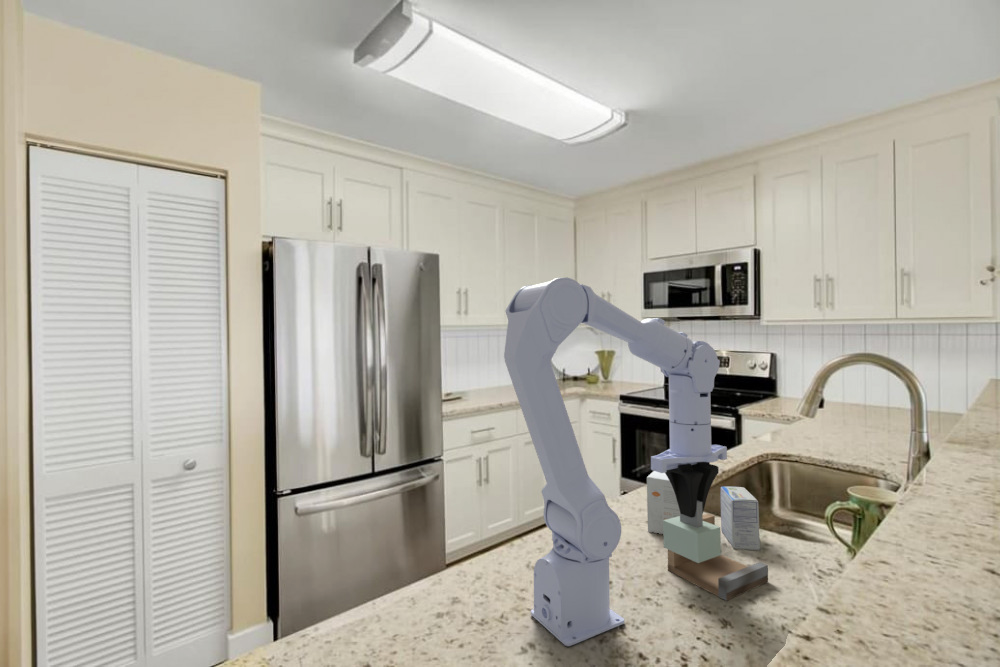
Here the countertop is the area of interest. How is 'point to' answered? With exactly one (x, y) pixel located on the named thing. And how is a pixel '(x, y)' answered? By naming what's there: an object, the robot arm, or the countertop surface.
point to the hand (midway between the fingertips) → (691, 514)
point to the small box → (660, 501)
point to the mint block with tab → (692, 536)
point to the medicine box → (740, 518)
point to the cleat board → (719, 572)
